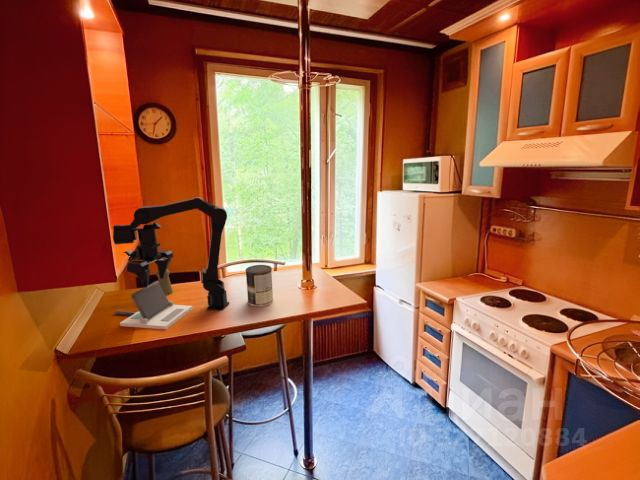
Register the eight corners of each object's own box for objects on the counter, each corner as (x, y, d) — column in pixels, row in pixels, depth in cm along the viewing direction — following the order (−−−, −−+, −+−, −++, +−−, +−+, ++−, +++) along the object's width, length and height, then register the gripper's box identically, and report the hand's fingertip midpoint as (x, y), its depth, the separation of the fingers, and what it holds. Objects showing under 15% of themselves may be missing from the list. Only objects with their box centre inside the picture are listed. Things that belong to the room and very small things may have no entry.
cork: (167, 296, 148) (164, 271, 145) (154, 295, 149) (151, 271, 146) (175, 291, 153) (172, 267, 151) (163, 290, 155) (160, 266, 152)
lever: (171, 304, 134) (158, 279, 133) (147, 320, 121) (132, 293, 119) (168, 305, 135) (155, 281, 133) (144, 322, 121) (129, 295, 120)
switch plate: (192, 308, 134) (192, 301, 134) (166, 329, 118) (165, 321, 118) (131, 304, 139) (130, 298, 139) (98, 324, 123) (96, 316, 122)
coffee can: (243, 305, 136) (241, 272, 133) (253, 295, 146) (251, 264, 143) (268, 307, 134) (266, 273, 131) (276, 297, 144) (275, 265, 141)
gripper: (145, 235, 134) (150, 274, 137) (108, 248, 116) (116, 291, 119) (171, 236, 132) (176, 274, 135) (138, 248, 114) (145, 292, 117)
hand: (154, 282), depth 127 cm, fingers open, 9 cm apart
